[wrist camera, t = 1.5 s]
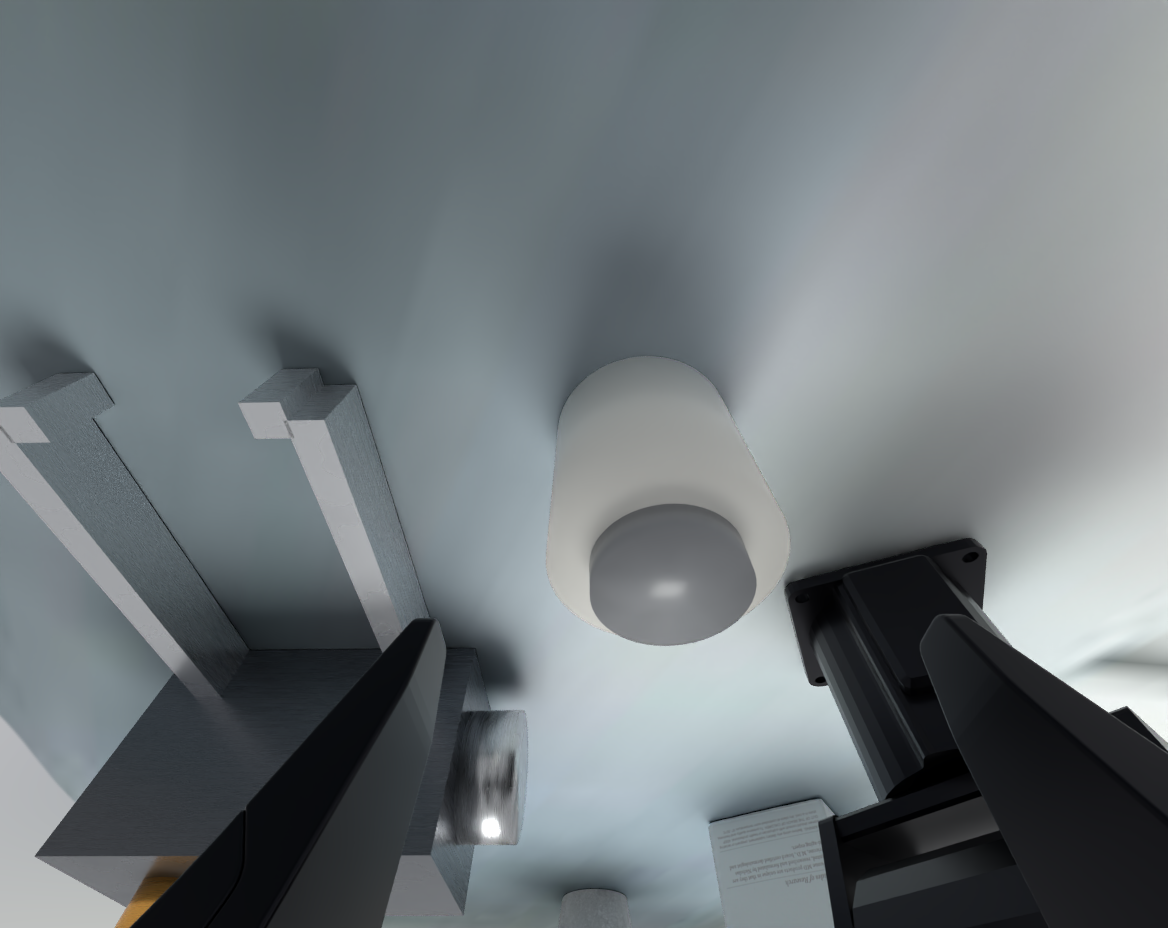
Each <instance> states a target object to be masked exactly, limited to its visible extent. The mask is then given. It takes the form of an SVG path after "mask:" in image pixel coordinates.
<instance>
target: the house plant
mask: <svg viewBox="0 0 1168 928" xmlns="http://www.w3.org/2000/svg"><path fill="white" fill-rule="evenodd" d="M558 928H632V926H631V920H630V914H629V908H628V903H627V898H626V896H625V895H623V894H621V893H619V892H616V891H611V890H605V889H584V890H578V891H573V892H570V893H568V894H566V895H565V896H564V897H563V899H562V905H561V912H560V918H559V925H558Z"/></svg>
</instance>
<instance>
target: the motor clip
mask: <svg viewBox="0 0 1168 928" xmlns="http://www.w3.org/2000/svg"><path fill="white" fill-rule="evenodd" d="M238 404H239V406H240V408H241V410H242V412H243V415H244V417H245V419H246V421H247V423H248V425H249V427H250V429H251V431H252V433H253V436H254V438H255V439H279V438H291V440H292V442H293V445H294V447H295V449H296V452H297V454H298V456H299V459H300V461H301V463H302V466H303V468H304V470H305V473H306V475H307V477H308V480H309V482H310V484H311V487H312V489H313V491H314V494H315V496H316V498H317V501H318V503H319V506H320V508H321V510H322V513H323V515H324V517H325V520H326V522H327V524H328V527H329V529H330V531H331V534H332V536H333V538H334V541H335V543H336V545H337V548H338V550H339V552H340V555H341V557H342V559H343V562H344V564H345V566H346V569H347V571H348V573H349V576H350V578H351V581H352V583H353V585H354V588H355V590H356V592H357V595H358V597H359V599H360V602H361V604H362V606H363V609H364V611H365V613H366V616H367V618H368V620H369V623H370V625H371V627H372V630H373V632H374V634H375V637H376V639H377V641H378V644H379V646H380V648H381V649H358V650H255V651H250V650H249V649H248V647H247V646H246V644H245V643H244V641H243V640H242V638H241V637H240V635H239V634H238V632H237V631H236V630H235V628H234V627H233V625H232V624H231V622H230V621H229V619H228V618H227V616H226V615H225V613H224V612H223V610H222V609H221V607H220V606H219V604H218V603H217V602H216V600H215V599H214V597H213V596H212V594H211V593H210V591H209V590H208V588H207V587H206V585H205V584H204V582H203V581H202V579H201V578H200V577H199V575H198V574H197V572H196V571H195V569H194V568H193V566H192V565H191V563H190V562H189V560H188V559H187V557H186V556H185V554H184V553H183V552H182V550H181V549H180V547H179V546H178V544H177V543H176V541H175V540H174V538H173V537H172V535H171V534H170V532H169V531H168V529H167V528H166V526H165V525H164V524H163V522H162V521H161V519H160V518H159V516H158V515H157V513H156V512H155V510H154V509H153V507H152V506H151V504H150V503H149V501H148V500H147V499H146V497H145V496H144V494H143V493H142V491H141V490H140V488H139V487H138V485H137V484H136V482H135V481H134V479H133V478H132V476H131V475H130V473H129V472H128V471H127V469H126V468H125V466H124V465H123V463H122V462H121V460H120V459H119V457H118V456H117V454H116V453H115V451H114V450H113V448H112V447H111V446H110V444H109V443H108V441H107V440H106V438H105V437H104V435H103V434H102V432H101V431H100V429H99V428H98V426H97V425H96V423H95V422H94V421H93V419H92V418H94V417H95V416H97V415H99V414H101V413H102V412H104V411H106V410H108V409H109V408H111V407H113V406H114V404H113V402H112V401H111V399H110V397H109V396H108V394H107V393H106V391H105V390H104V388H103V386H102V385H101V383H100V382H99V380H98V379H97V377H96V375H95V374H94V373H58V374H56V375H53V376H51V377H49V378H47V379H45V380H42V381H40V382H38V383H36V384H34V385H31V386H29V387H27V388H25V389H23V390H21V391H18V392H16V393H14V394H12V395H10V396H7V397H5V398H3V399H1V400H0V471H1V473H2V474H3V475H4V476H5V477H6V478H7V480H8V481H9V482H10V483H11V484H12V485H13V487H14V488H15V489H16V490H17V491H18V492H19V494H20V495H21V496H22V497H23V498H24V499H25V501H26V502H27V503H28V504H29V505H30V506H31V507H32V509H33V510H34V511H35V512H36V513H37V514H38V516H39V517H40V518H41V519H42V520H43V521H44V523H45V524H46V525H47V526H48V527H49V528H50V530H51V531H52V532H53V533H54V534H55V535H56V536H57V538H58V539H59V540H60V541H61V542H62V543H63V545H64V546H65V547H66V548H67V549H68V550H69V552H70V553H71V554H72V555H73V556H74V557H75V559H76V560H77V561H78V562H79V563H80V564H81V565H82V567H83V568H84V569H85V570H86V571H87V572H88V574H89V575H90V576H91V577H92V578H93V579H94V581H95V582H96V583H97V584H98V585H99V586H100V588H101V589H102V590H103V591H104V592H105V593H106V594H107V596H108V597H109V598H110V599H111V600H112V601H113V603H114V604H115V605H116V606H117V607H118V608H119V610H120V611H121V612H122V613H123V614H124V615H125V617H126V618H127V619H128V620H129V621H130V622H131V624H132V625H133V626H134V627H135V628H136V629H137V630H138V632H139V633H140V634H141V635H142V636H143V637H144V639H145V640H146V641H147V642H148V643H149V644H150V646H151V647H152V648H153V649H154V650H155V651H156V653H157V654H158V655H159V656H160V657H161V658H162V659H163V661H164V662H165V663H166V664H167V665H168V666H169V668H170V669H171V670H172V671H173V672H174V674H173V675H172V677H171V678H170V679H169V681H168V682H167V683H166V685H165V686H164V687H163V689H162V690H161V691H160V692H159V694H158V695H157V696H156V698H155V699H154V700H153V702H152V703H151V704H150V706H149V707H148V708H147V710H146V711H145V712H144V713H143V715H142V716H141V717H140V719H139V720H138V721H137V723H136V724H135V725H134V727H133V728H132V729H131V731H130V732H129V733H128V734H127V736H126V737H125V738H124V740H123V741H122V742H121V744H120V745H119V746H118V748H117V749H116V750H115V751H114V753H113V754H112V755H111V757H110V758H109V759H108V761H107V762H106V763H105V765H104V766H103V767H102V769H101V770H100V771H99V772H98V774H97V775H96V776H95V778H94V779H93V780H92V782H91V783H90V784H89V786H88V787H87V788H86V789H85V791H84V792H83V793H82V795H81V796H80V797H79V799H78V800H77V801H76V803H75V804H74V805H73V807H72V808H71V809H70V811H69V812H68V813H67V815H66V816H65V817H64V819H63V820H62V821H61V822H60V824H59V825H58V826H57V828H56V829H55V830H54V832H53V833H52V834H51V835H50V837H49V838H48V839H47V841H46V842H45V843H44V845H43V846H42V847H41V848H40V850H39V851H38V852H37V854H36V855H35V857H37V858H38V859H40V860H42V861H44V862H45V863H47V864H49V865H51V866H53V867H54V868H56V869H58V870H60V871H62V872H64V873H65V874H67V875H69V876H71V877H73V878H74V879H76V880H78V881H80V882H82V883H84V884H85V885H87V886H89V887H91V888H93V889H94V890H96V891H98V892H100V893H102V894H103V895H105V896H107V897H109V898H110V899H112V900H114V901H116V902H118V903H120V904H121V905H123V906H125V907H127V908H126V909H125V911H124V913H123V914H122V916H121V918H120V920H119V921H118V923H117V924H116V926H115V928H129V927H130V926H131V925H132V924H133V923H134V922H135V921H136V920H137V919H138V918H139V917H140V916H141V915H142V914H143V913H144V912H145V911H146V910H147V909H148V908H149V907H150V906H151V905H152V904H153V903H154V902H155V901H156V900H157V899H158V898H159V897H160V896H161V895H162V894H163V893H164V892H165V891H166V890H167V889H168V888H169V887H170V886H171V885H172V884H173V883H174V882H175V881H176V880H177V879H178V878H179V877H180V876H181V875H182V874H183V873H184V872H185V871H186V870H187V869H188V867H189V866H190V865H191V864H192V863H193V862H194V861H195V860H196V859H197V858H198V857H199V856H200V855H201V853H202V852H203V851H204V850H205V849H206V848H207V847H208V846H209V845H210V844H211V843H212V842H213V841H214V840H215V838H216V837H217V836H218V835H219V834H220V833H221V832H222V831H223V830H224V829H225V827H226V826H227V825H228V824H229V823H230V822H231V821H232V820H233V819H234V817H235V816H236V815H237V814H238V813H239V812H240V811H241V810H245V807H246V804H247V803H248V802H249V801H250V800H251V799H252V798H253V797H254V795H255V794H256V793H257V792H258V791H259V790H260V789H261V788H262V787H263V785H264V784H265V783H266V782H267V781H268V780H269V779H270V778H271V777H272V775H273V774H274V773H275V772H276V771H277V770H278V769H279V768H280V767H281V765H282V764H283V763H284V762H285V761H286V760H287V759H288V758H289V757H290V755H291V754H292V753H293V752H294V751H295V750H296V749H297V748H298V747H299V745H300V744H301V743H302V742H303V741H304V740H305V739H306V738H307V736H308V735H309V734H310V733H311V732H312V731H313V730H314V729H315V728H316V726H317V725H318V724H319V723H320V722H321V721H322V720H323V719H324V718H325V716H326V715H327V714H328V713H329V712H330V711H331V710H332V709H333V708H334V706H335V705H336V704H337V703H338V702H339V701H340V700H341V699H342V698H343V696H344V695H345V694H346V693H347V692H348V691H349V690H350V689H351V688H352V686H353V685H354V684H355V683H356V682H357V681H358V680H359V679H360V678H361V676H362V675H363V674H364V673H365V672H366V671H367V670H368V669H369V668H370V666H371V665H372V664H373V663H374V662H375V661H376V660H377V659H378V658H379V656H380V655H381V654H382V653H383V652H384V651H385V650H386V649H387V648H388V646H389V645H390V644H391V643H392V642H393V641H394V640H395V639H396V638H397V636H398V635H399V634H400V633H401V632H402V631H403V630H404V629H405V628H406V626H407V625H408V624H409V623H410V622H411V621H412V620H414V619H415V618H430V617H429V614H428V611H427V608H426V605H425V601H424V598H423V595H422V592H421V589H420V585H419V582H418V579H417V576H416V573H415V570H414V566H413V563H412V560H411V557H410V554H409V550H408V547H407V544H406V541H405V538H404V535H403V531H402V528H401V525H400V522H399V519H398V515H397V512H396V509H395V506H394V503H393V500H392V496H391V493H390V490H389V487H388V484H387V480H386V477H385V474H384V471H383V468H382V465H381V461H380V458H379V455H378V452H377V449H376V445H375V442H374V439H373V436H372V433H371V430H370V426H369V423H368V420H367V417H366V414H365V410H364V407H363V404H362V401H361V398H360V395H359V391H358V388H357V385H324V383H323V380H322V378H321V375H320V372H319V369H318V368H309V369H281V370H280V371H279V372H277V373H276V374H275V375H273V376H272V377H271V378H270V379H268V380H267V381H266V382H264V383H263V384H262V385H261V386H259V387H258V388H257V389H255V390H254V391H253V392H251V393H250V394H249V395H248V396H246V397H245V398H244V399H242V400H241V401H240V402H239V403H238ZM527 772H528V727H527V718H526V713H525V711H524V710H490V707H489V702H488V698H487V694H486V690H485V686H484V682H483V678H482V674H481V670H480V666H479V662H478V658H477V654H476V650H475V648H460V649H446V659H445V665H444V672H443V678H442V684H441V690H440V696H439V702H438V708H437V714H436V721H435V727H434V732H433V738H432V743H431V747H430V751H429V755H428V759H427V763H426V766H425V770H424V774H423V777H422V781H421V785H420V788H419V792H418V796H417V799H416V803H415V807H414V810H413V814H412V818H411V821H410V825H409V829H408V832H407V836H406V839H405V843H404V847H403V850H402V854H401V858H400V861H399V865H398V869H397V872H396V876H395V880H394V883H393V887H392V891H391V894H390V898H389V902H388V905H387V909H386V913H385V916H463V915H464V909H465V903H466V896H467V890H468V884H469V877H470V871H471V864H472V858H473V852H474V845H517V843H518V841H519V838H520V834H521V830H522V824H523V817H524V810H525V800H526V789H527Z"/></svg>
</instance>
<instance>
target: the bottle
mask: <svg viewBox="0 0 1168 928" xmlns="http://www.w3.org/2000/svg"><path fill="white" fill-rule="evenodd" d="M790 542H791V540H790V533H789V528H788V525H787V522H786V519H785V517H784V515H783V513H782V511H781V509H780V507H779V505H778V504H777V502H776V500H775V498H774V496H773V494H772V492H771V490H770V488H769V487H768V485H767V483H766V481H765V479H764V477H763V475H762V473H761V471H760V470H759V468H758V466H757V464H756V462H755V460H754V458H753V456H752V454H751V453H750V451H749V449H748V447H747V445H746V443H745V441H744V439H743V437H742V436H741V434H740V432H739V430H738V428H737V426H736V424H735V422H734V420H733V419H732V417H731V415H730V413H729V411H728V409H727V407H726V405H725V403H724V402H723V400H722V398H721V396H720V394H719V393H718V391H717V389H716V388H715V387H714V385H713V384H712V383H711V382H710V380H708V379H707V378H706V377H705V376H704V375H703V374H702V373H700V372H699V371H697V370H696V369H694V368H693V367H691V366H689V365H687V364H685V363H683V362H680V361H677V360H674V359H670V358H665V357H658V356H638V357H631V358H626V359H622V360H619V361H615V362H612V363H610V364H608V365H606V366H603V367H601V368H600V369H598V370H596V371H595V372H593V373H592V374H590V375H589V376H588V377H586V378H585V379H584V380H583V381H582V382H581V383H580V384H579V385H578V386H577V387H576V388H575V389H574V390H573V392H572V393H571V395H570V396H569V397H568V399H567V401H566V403H565V405H564V407H563V409H562V412H561V415H560V419H559V424H558V431H557V442H556V453H555V464H554V474H553V485H552V496H551V506H550V517H549V528H548V539H547V549H546V568H547V575H548V578H549V581H550V584H551V586H552V588H553V590H554V592H555V594H556V595H557V597H558V598H559V599H560V601H561V602H562V603H563V605H565V606H566V607H567V608H568V609H569V610H570V611H571V612H572V613H573V614H574V615H576V616H577V617H578V618H580V619H581V620H583V621H585V622H586V623H588V624H590V625H592V626H594V627H596V628H598V629H601V630H603V631H606V632H609V633H612V634H615V635H619V636H621V637H623V638H626V639H628V640H631V641H634V642H638V643H643V644H648V645H659V646H671V645H682V644H688V643H693V642H697V641H700V640H704V639H706V638H709V637H711V636H714V635H716V634H718V633H720V632H722V631H724V630H725V629H727V628H728V627H730V626H731V625H733V624H734V623H735V622H736V621H738V620H739V619H740V618H741V617H742V616H744V615H746V614H747V613H749V612H750V611H751V610H753V609H754V608H755V607H757V606H758V605H759V604H760V603H761V602H762V601H763V600H764V599H765V598H766V597H767V596H768V595H769V594H770V593H771V592H772V590H773V589H774V588H775V587H776V585H777V584H778V582H779V581H780V579H781V577H782V576H783V573H784V571H785V569H786V566H787V563H788V559H789V555H790Z"/></svg>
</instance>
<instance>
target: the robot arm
mask: <svg viewBox="0 0 1168 928" xmlns="http://www.w3.org/2000/svg"><path fill="white" fill-rule="evenodd" d="M986 559H987V552H986V549H985V548H984V547H983V546H982V545H981V544H980V543H979V542H978V541H977V540H975V539H972V538H966V539H961V540H957V541H953V542H949V543H945V544H941V545H937V546H933V547H929V548H925V549H921V550H917V551H913V552H909V553H905V554H901V555H897V556H893V557H889V558H885V559H881V560H878V561H874V562H870V563H866V564H862V565H858V566H854V567H850V568H846V569H842V570H838V571H834V572H830V573H826V574H822V575H818V576H814V577H810V578H806V579H802V580H798V581H795V582H793V583H790V584H789V585H788V586H787V587H786V588H785V597H786V601H787V605H788V609H789V612H790V616H791V620H792V624H793V628H794V631H795V635H796V639H797V643H798V647H799V651H800V654H801V658H802V662H803V666H804V670H805V673H806V676H807V678H808V681H809V683H810V684H811V685H813V686H818V687H819V686H826V685H828V686H829V688H830V690H831V693H832V695H833V697H834V699H835V702H836V704H837V706H838V709H839V711H840V713H841V716H842V718H843V720H844V722H845V725H846V727H847V729H848V732H849V734H850V736H851V738H852V741H853V743H854V745H855V748H856V750H857V752H858V754H859V757H860V759H861V761H862V764H863V766H864V768H865V770H866V773H867V775H868V777H869V780H870V782H871V784H872V787H873V789H874V791H875V793H876V796H877V798H878V800H879V802H878V803H875V804H873V805H870V806H867V807H865V808H862V809H859V810H856V811H854V812H851V813H848V814H846V815H843V816H840V817H838V816H836V815H832V816H829V817H827V818H824V819H821V820H819V821H818V827H819V833H820V839H821V846H822V852H823V858H824V865H825V871H826V877H827V884H828V890H829V897H830V903H831V909H832V916H833V922H834V928H1168V743H1167V742H1166V741H1165V740H1164V739H1163V738H1162V737H1160V736H1159V735H1158V734H1157V733H1156V732H1155V731H1154V730H1153V729H1152V728H1151V727H1150V726H1148V725H1147V724H1146V723H1145V722H1144V721H1143V720H1142V719H1141V718H1140V717H1139V716H1137V715H1136V714H1135V713H1134V712H1133V711H1132V710H1131V709H1130V708H1129V707H1128V706H1125V707H1122V708H1120V709H1117V710H1114V711H1112V712H1109V713H1108V712H1107V711H1105V710H1104V709H1102V708H1101V707H1099V706H1098V705H1097V704H1095V703H1094V702H1092V701H1091V700H1089V699H1088V698H1086V697H1085V696H1083V695H1082V694H1080V693H1079V692H1077V691H1076V690H1075V689H1073V688H1072V687H1070V686H1069V685H1067V684H1066V683H1064V682H1063V681H1061V680H1060V679H1058V678H1057V677H1055V676H1054V675H1053V674H1051V673H1050V672H1048V671H1047V670H1045V669H1044V668H1042V667H1041V666H1039V665H1038V664H1036V663H1035V662H1034V661H1032V660H1031V659H1029V658H1028V657H1026V656H1025V655H1023V654H1022V653H1020V652H1019V651H1017V650H1016V649H1014V648H1013V647H1012V646H1011V644H1010V643H1009V642H1008V641H1007V640H1006V638H1005V637H1004V636H1003V635H1002V634H1001V632H1000V631H999V630H998V629H997V628H996V626H995V625H994V624H993V623H992V621H991V620H990V619H989V618H988V617H987V615H986V614H985V613H984V612H983V611H982V609H983V596H984V584H985V571H986ZM445 659H446V644H445V641H444V637H443V634H442V631H441V627H440V624H439V621H438V620H437V619H436V618H415V619H414V620H412V621H411V622H410V623H409V624H408V625H407V626H406V628H405V629H404V630H403V631H402V632H401V633H400V634H399V635H398V636H397V638H396V639H395V640H394V641H393V642H392V643H391V644H390V645H389V646H388V648H387V649H386V650H385V651H384V652H383V653H382V654H381V655H380V656H379V658H378V659H377V660H376V661H375V662H374V663H373V664H372V665H371V666H370V668H369V669H368V670H367V671H366V672H365V673H364V674H363V675H362V676H361V678H360V679H359V680H358V681H357V682H356V683H355V684H354V685H353V686H352V688H351V689H350V690H349V691H348V692H347V693H346V694H345V695H344V696H343V698H342V699H341V700H340V701H339V702H338V703H337V704H336V705H335V706H334V708H333V709H332V710H331V711H330V712H329V713H328V714H327V715H326V716H325V718H324V719H323V720H322V721H321V722H320V723H319V724H318V725H317V726H316V728H315V729H314V730H313V731H312V732H311V733H310V734H309V735H308V736H307V738H306V739H305V740H304V741H303V742H302V743H301V744H300V745H299V747H298V748H297V749H296V750H295V751H294V752H293V753H292V754H291V755H290V757H289V758H288V759H287V760H286V761H285V762H284V763H283V764H282V765H281V767H280V768H279V769H278V770H277V771H276V772H275V773H274V774H273V775H272V777H271V778H270V779H269V780H268V781H267V782H266V783H265V784H264V785H263V787H262V788H261V789H260V790H259V791H258V792H257V793H256V794H255V795H254V797H253V798H252V799H251V800H250V801H249V802H248V803H247V804H246V807H245V810H241V811H240V812H239V813H238V814H237V815H236V816H235V817H234V819H233V820H232V821H231V822H230V823H229V824H228V825H227V826H226V827H225V829H224V830H223V831H222V832H221V833H220V834H219V835H218V836H217V837H216V838H215V840H214V841H213V842H212V843H211V844H210V845H209V846H208V847H207V848H206V849H205V850H204V851H203V852H202V853H201V855H200V856H199V857H198V858H197V859H196V860H195V861H194V862H193V863H192V864H191V865H190V866H189V867H188V869H187V870H186V871H185V872H184V873H183V874H182V875H181V876H180V877H179V878H178V879H177V880H176V881H175V882H174V883H173V884H172V885H171V886H170V887H169V888H168V889H167V890H166V891H165V892H164V893H163V894H162V895H161V896H160V897H159V898H158V899H157V900H156V901H155V902H154V903H153V904H152V905H151V906H150V907H149V908H148V909H147V910H146V911H145V912H144V913H143V914H142V915H141V916H140V917H139V918H138V919H137V920H136V921H135V922H134V923H133V924H132V925H131V926H130V927H129V928H381V927H382V924H383V920H384V916H385V913H386V909H387V905H388V902H389V898H390V894H391V891H392V887H393V883H394V880H395V876H396V872H397V869H398V865H399V861H400V858H401V854H402V850H403V847H404V843H405V839H406V836H407V832H408V829H409V825H410V821H411V818H412V814H413V810H414V807H415V803H416V799H417V796H418V792H419V788H420V785H421V781H422V777H423V774H424V770H425V766H426V763H427V759H428V755H429V751H430V747H431V743H432V738H433V732H434V727H435V721H436V714H437V708H438V702H439V696H440V690H441V684H442V678H443V672H444V665H445Z"/></svg>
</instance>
